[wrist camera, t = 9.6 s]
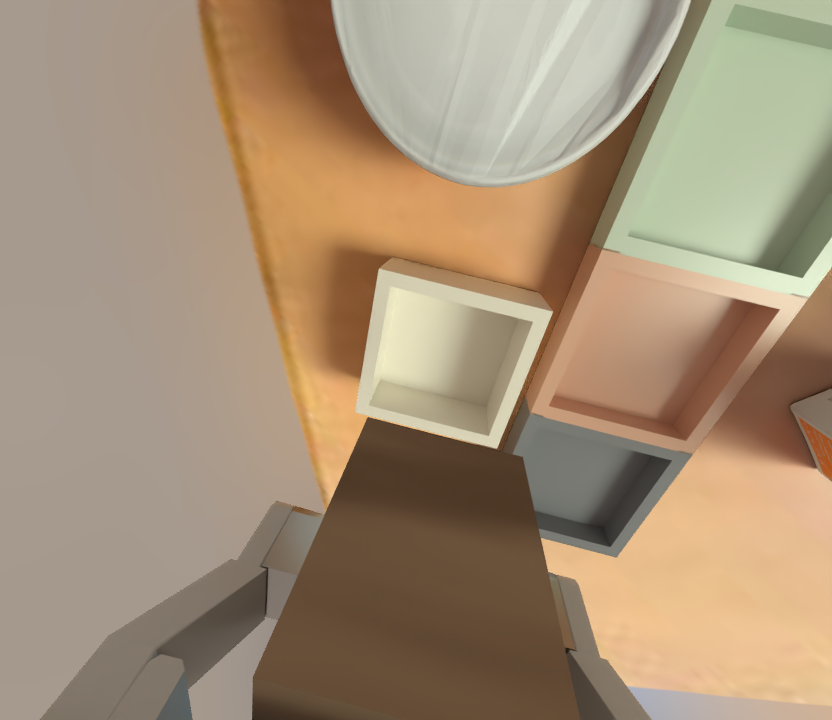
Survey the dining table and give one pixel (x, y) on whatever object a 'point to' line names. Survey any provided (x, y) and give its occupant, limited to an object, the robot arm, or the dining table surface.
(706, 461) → the dining table surface
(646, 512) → the tray far charcoal
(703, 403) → the tray middle terracotta
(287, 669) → the tan block
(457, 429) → the cream square open box
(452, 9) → the ramekin
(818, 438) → the skincare box
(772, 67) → the tray near sage
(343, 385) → the dining table surface
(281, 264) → the dining table surface
